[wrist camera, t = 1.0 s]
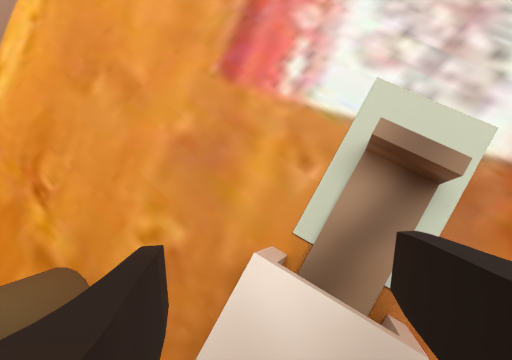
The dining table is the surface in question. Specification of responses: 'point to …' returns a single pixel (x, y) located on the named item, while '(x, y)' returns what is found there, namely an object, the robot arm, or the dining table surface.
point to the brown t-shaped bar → (378, 212)
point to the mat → (417, 120)
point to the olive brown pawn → (37, 297)
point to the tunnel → (299, 322)
